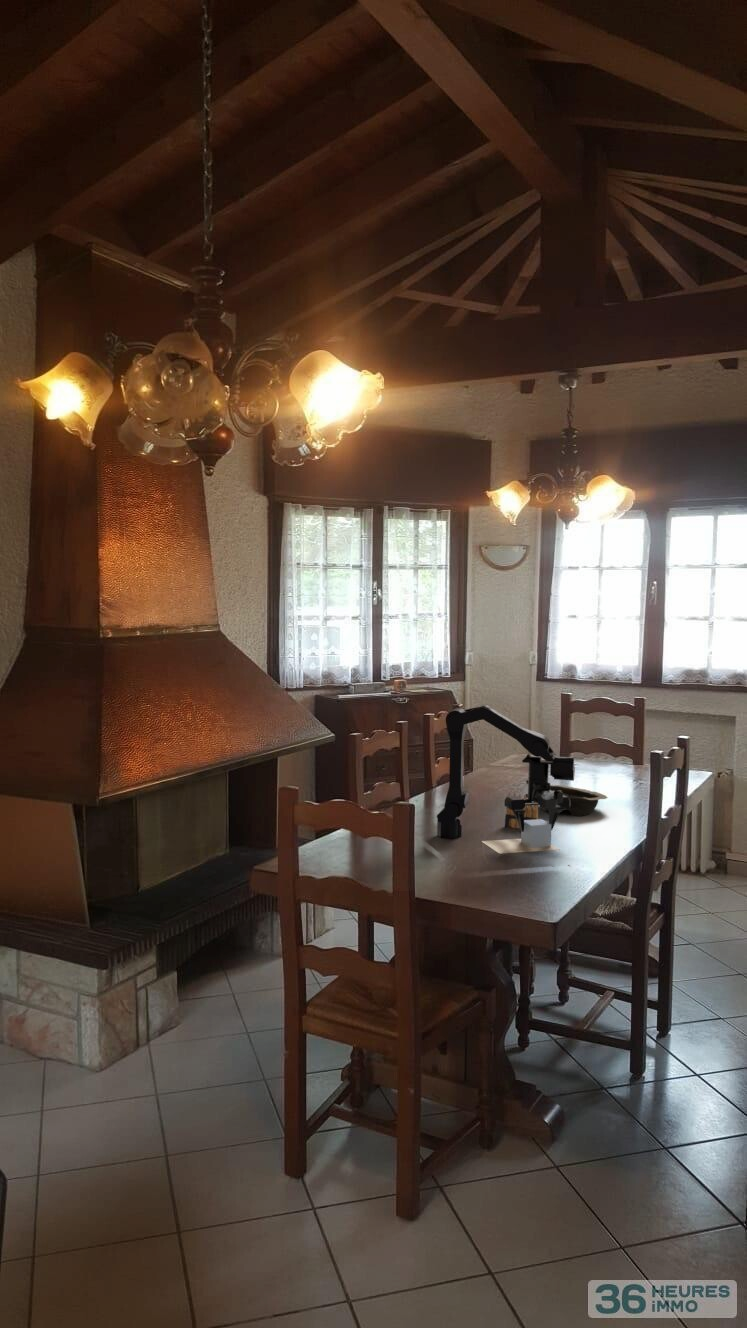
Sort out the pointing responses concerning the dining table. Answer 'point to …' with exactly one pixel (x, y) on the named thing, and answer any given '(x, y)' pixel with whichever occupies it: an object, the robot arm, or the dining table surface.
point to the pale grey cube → (536, 833)
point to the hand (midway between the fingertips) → (536, 830)
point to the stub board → (514, 846)
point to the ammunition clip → (529, 815)
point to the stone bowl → (579, 799)
